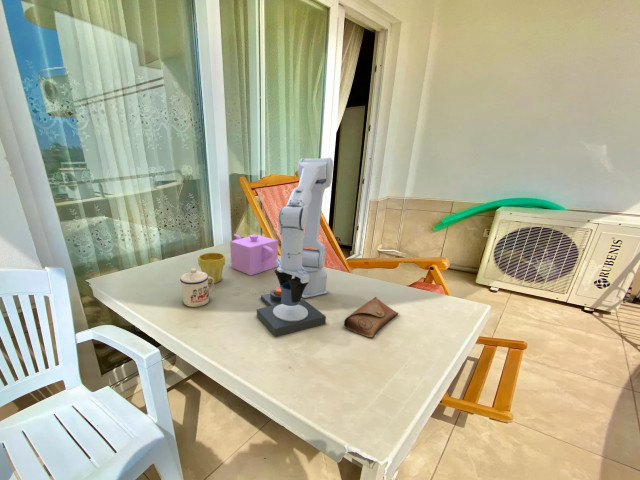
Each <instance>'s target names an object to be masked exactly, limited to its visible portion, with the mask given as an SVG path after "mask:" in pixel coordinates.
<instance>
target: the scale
mask: <svg viewBox="0 0 640 480" xmlns="http://www.w3.org/2000/svg"><path fill="white" fill-rule="evenodd" d="M256 317H257V318H258V319H259V321H260V322H261V323H262V324H263V325H264V326H265V327H266V329H267V330H268V331H269V332H270V334H272V336H274V337H275V338H277V337H280V336H284V335H288V334H293V333H296V332H300V331H304V330H309V329H311V328H315V327H319V326H323V325H326V323H327V322H326V321H327V316H326V315H325V314H324V313H322V311H320V310H318V309H317V308H316V307H314V306H313V305H312V304H310V303H309V302H308V301H306V300H305V298H301V300H300V303H299V304H298V305H296V306H287V305H284V304H278V305H273V306H265V307H261V308H257V309H256Z"/></svg>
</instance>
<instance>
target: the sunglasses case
mask: <svg viewBox="0 0 640 480" xmlns="http://www.w3.org/2000/svg"><path fill="white" fill-rule="evenodd" d="M399 314H400V313H399V312H398V311H395V310H394V309H392V308H391V307H390V306H388V305H387V304H386V303H385V302H383V301H381V300H380V299H379V298H378V297H377V296H374V298H372V299H371V300H369V301H367V302H366V303H364V304H363V305H362V306H360V307H358V309H356V310H355V311H353V312H352V313H351V314H349V316H347V317H346V318H345V319H344V322H343V325H344V328H345V329H347V330H348V331H350V332H353V333H354V334H357V335H361V336H364V337H366V338H374V337H375V336H376V334H377V333H378V331H379V330H381V329H382V328H383V327H384V326H385V325H386V324H388V323H389V322H390V321H391V320H393V319H394V318H396V317H397V316H398V315H399Z"/></svg>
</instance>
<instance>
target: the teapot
mask: <svg viewBox="0 0 640 480" xmlns="http://www.w3.org/2000/svg"><path fill="white" fill-rule="evenodd" d="M233 236H234V237H235V238H236V239H233V240H230V241H229V244H230V245H229V246H230V265H231V268H232V269H234V270H236V271H239V272H242V273H244V274H246V275H248V276H253V275H256V274H259V273H263V272H265V271H268V270H271V269H274V268H278V267H277V266H276V260H277V259H278V257H279V241H278V239H276V238H275V239H274V238H270V237H267V236H265V235H264V236H263V235H260V234H250V235H249V236H245V237H241V235H239V234H237V233H234V234H233Z"/></svg>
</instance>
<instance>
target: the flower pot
mask: <svg viewBox="0 0 640 480" xmlns="http://www.w3.org/2000/svg"><path fill="white" fill-rule="evenodd" d="M197 262H198V267H199V268H200V270H201V271H200V272H204V273H206V274H207V275H208V277H212V278H213V279H214V284H216V283H219V282H221V281H222V276H223V270H224V266H225V265H226V255H225V254H224V253H221V252H213V251H211V252H204V253H201V254H199V255H198V256H197ZM208 284H211V279H208Z"/></svg>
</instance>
